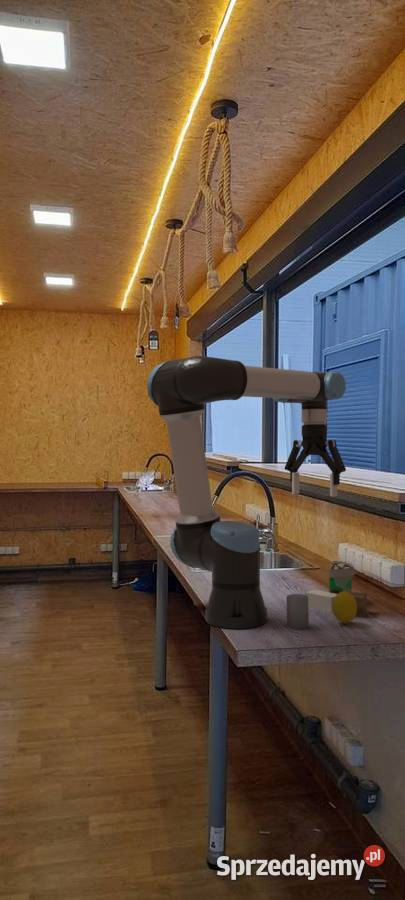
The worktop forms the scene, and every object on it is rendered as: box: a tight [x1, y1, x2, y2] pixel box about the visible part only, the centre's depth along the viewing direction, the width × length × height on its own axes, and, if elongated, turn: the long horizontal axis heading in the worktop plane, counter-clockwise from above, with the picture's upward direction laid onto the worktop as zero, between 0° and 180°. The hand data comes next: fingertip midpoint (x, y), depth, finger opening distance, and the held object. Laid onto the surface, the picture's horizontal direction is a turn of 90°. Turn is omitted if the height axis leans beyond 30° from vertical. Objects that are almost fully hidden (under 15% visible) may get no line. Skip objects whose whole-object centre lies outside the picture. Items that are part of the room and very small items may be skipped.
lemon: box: [332, 590, 357, 625], centre depth 149 cm, size 6×6×8 cm
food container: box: [328, 560, 356, 594], centre depth 168 cm, size 12×6×10 cm, turn 163°
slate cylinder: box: [286, 593, 310, 631], centre depth 148 cm, size 5×5×7 cm
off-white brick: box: [304, 589, 337, 614], centre depth 164 cm, size 4×8×4 cm, turn 44°
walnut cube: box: [347, 591, 368, 619], centre depth 158 cm, size 5×5×5 cm
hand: (314, 495), depth 189 cm, fingers open, 13 cm apart
